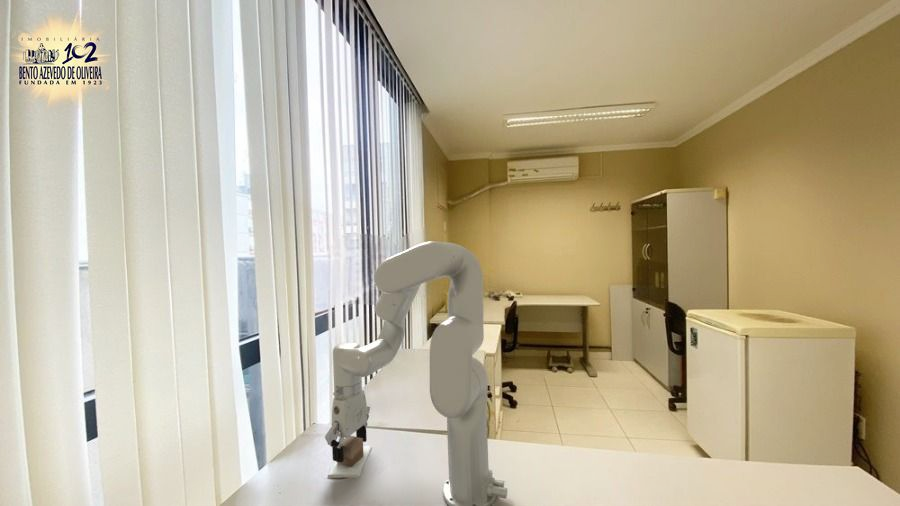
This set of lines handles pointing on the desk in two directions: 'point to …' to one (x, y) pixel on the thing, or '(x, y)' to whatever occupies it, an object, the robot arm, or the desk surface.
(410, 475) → the desk surface
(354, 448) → the walnut block
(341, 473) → the external hard drive
